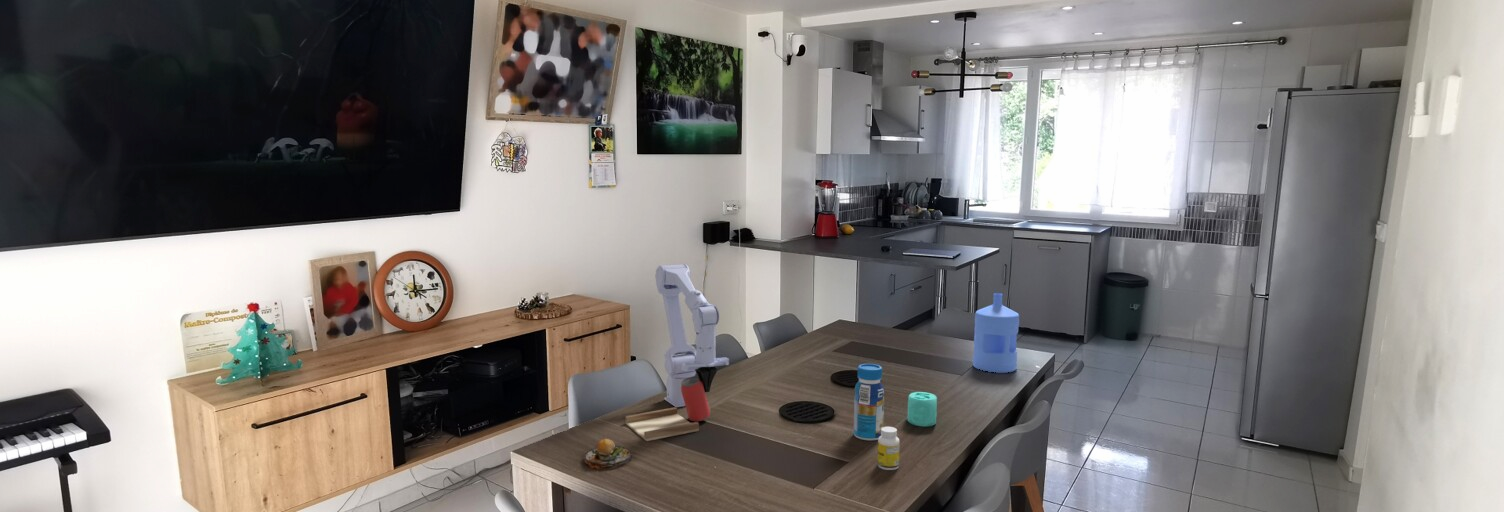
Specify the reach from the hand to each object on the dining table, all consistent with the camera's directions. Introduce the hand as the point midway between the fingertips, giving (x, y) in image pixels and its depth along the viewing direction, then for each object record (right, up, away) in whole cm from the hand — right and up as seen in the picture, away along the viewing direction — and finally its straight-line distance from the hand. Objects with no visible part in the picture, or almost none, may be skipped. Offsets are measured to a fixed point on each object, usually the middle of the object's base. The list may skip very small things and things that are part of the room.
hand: (705, 391), depth 223 cm
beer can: (-2, -8, 0) cm, 8 cm away
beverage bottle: (+46, -11, -12) cm, 49 cm away
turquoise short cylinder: (+64, -9, -1) cm, 65 cm away
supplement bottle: (+48, -13, -33) cm, 60 cm away
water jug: (+104, -2, +57) cm, 118 cm away
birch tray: (-12, -9, -6) cm, 17 cm away
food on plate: (-23, -13, -30) cm, 40 cm away
